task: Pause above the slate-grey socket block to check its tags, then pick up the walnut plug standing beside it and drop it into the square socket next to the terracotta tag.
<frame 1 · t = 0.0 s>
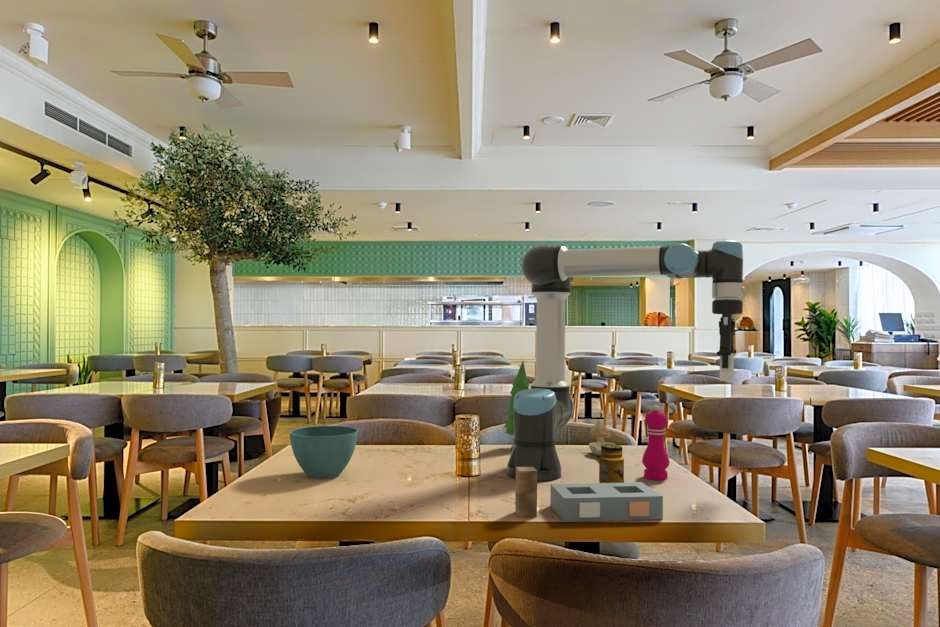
hand: (726, 379, 168), 28 cm above the table, fingers open, 13 cm apart
oil lamp: (602, 456, 203), on the table
condiment: (607, 494, 158), on the table
plug: (525, 514, 140), on the table
plant pot: (323, 476, 173), on the table
decorative tree: (518, 449, 213), on the table
socket block: (604, 512, 142), on the table
pepper mill: (655, 478, 175), on the table
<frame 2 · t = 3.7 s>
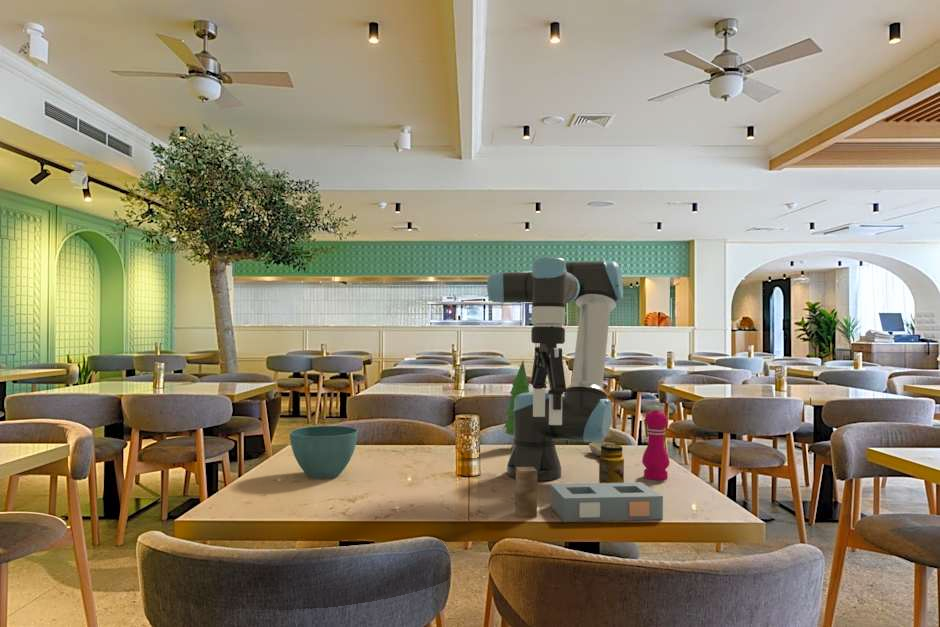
hand: (546, 420, 142), 20 cm above the table, fingers open, 13 cm apart
nothing on the table moved.
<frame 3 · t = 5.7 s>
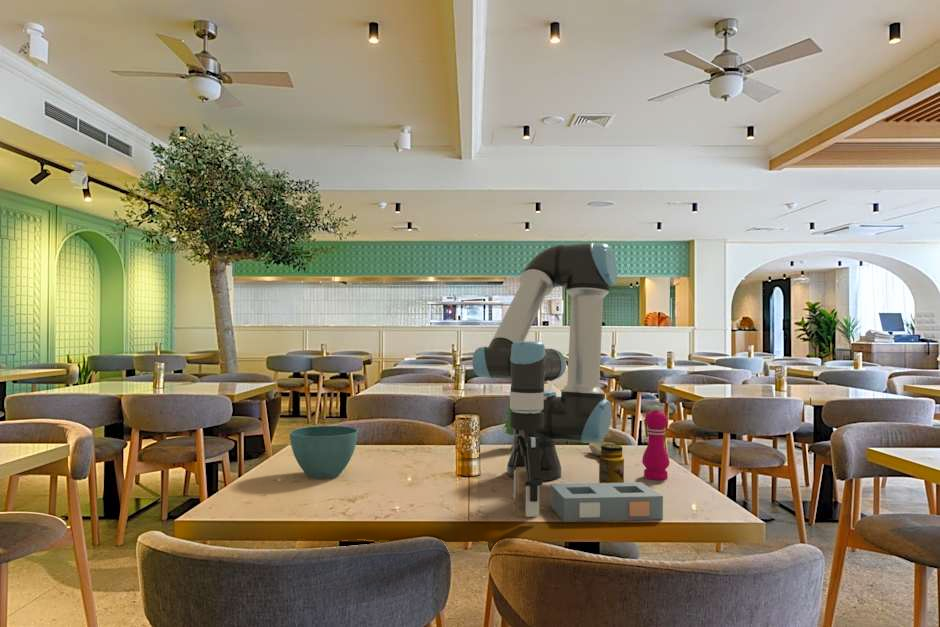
hand: (525, 507, 140), 2 cm above the table, fingers open, 13 cm apart
nothing on the table moved.
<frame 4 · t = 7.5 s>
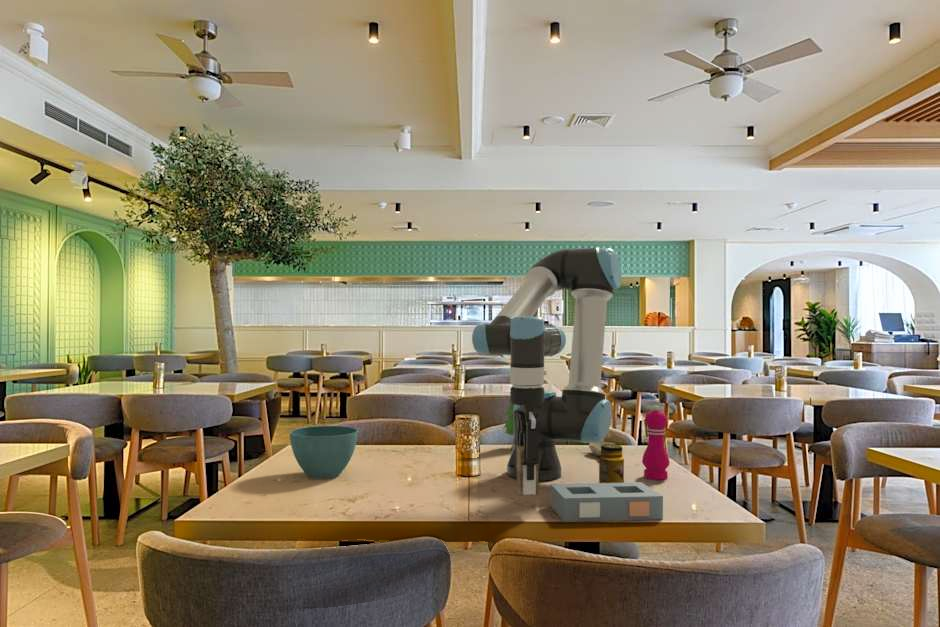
hand: (527, 490, 140), 5 cm above the table, fingers closed on plug, 4 cm apart
plug: (527, 492, 140), point 5 cm above the table, touching gripper
everything else where it was.
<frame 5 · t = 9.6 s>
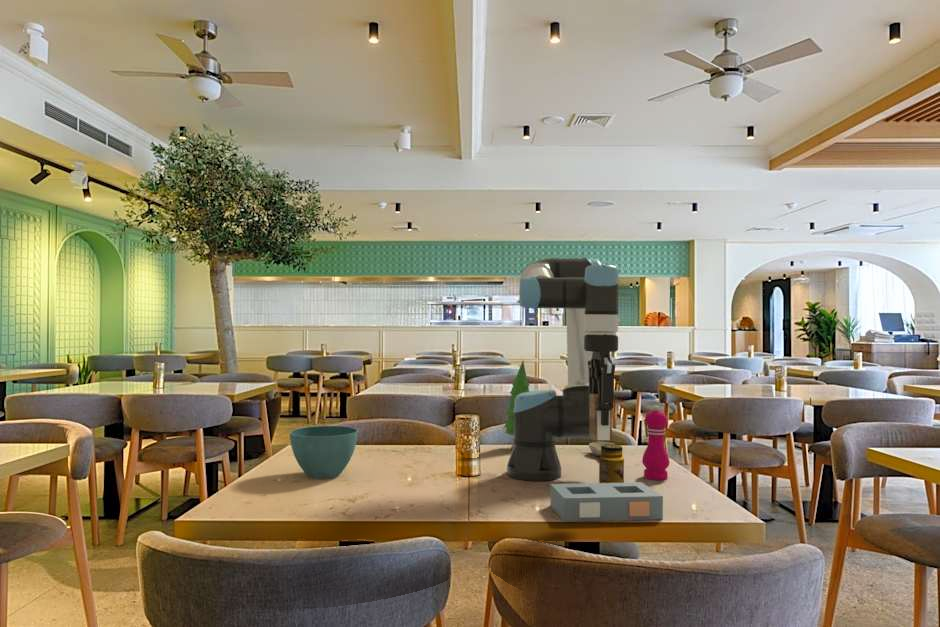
hand: (600, 437, 142), 17 cm above the table, fingers closed on plug, 4 cm apart
plug: (600, 439, 142), point 16 cm above the table, touching gripper
everything else where it was.
when the fingers open (7 cm above the table, at t = 12.2 s): plug drops 6 cm, resting in socket block.
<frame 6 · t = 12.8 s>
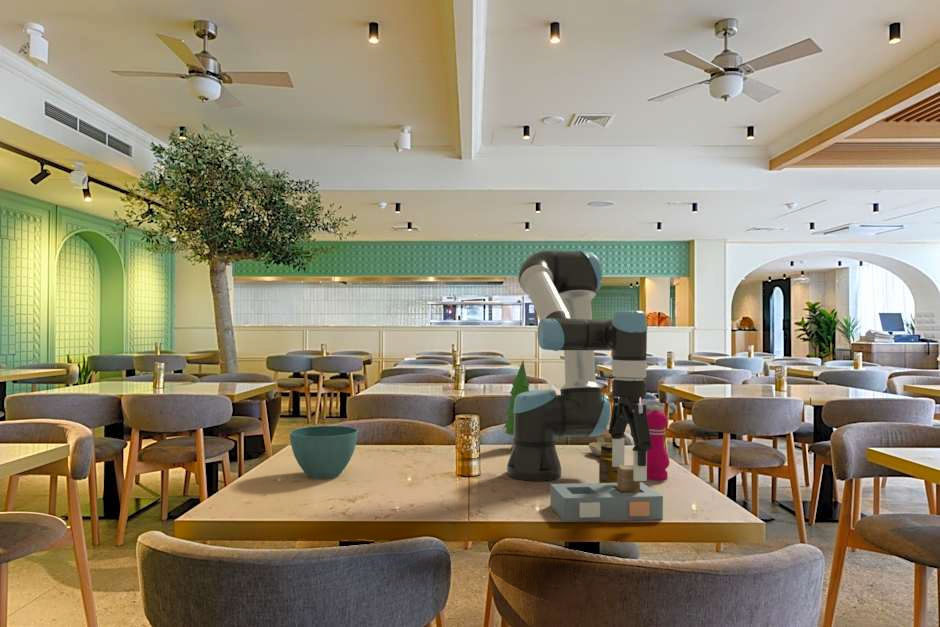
hand: (628, 473, 143), 9 cm above the table, fingers open, 13 cm apart
plug: (628, 511, 143), resting in socket block
everything else where it was.
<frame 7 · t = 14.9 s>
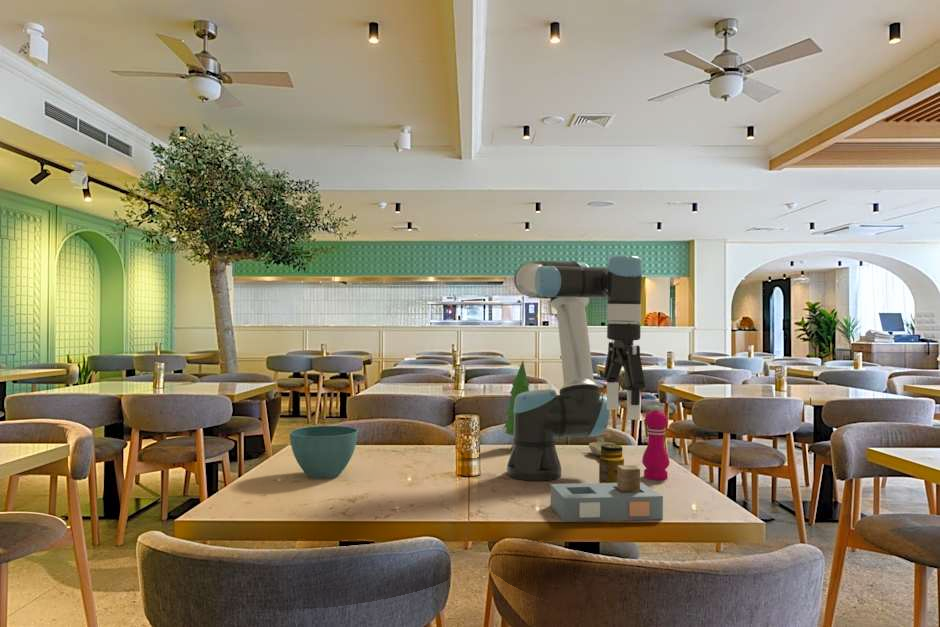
hand: (622, 414, 147), 21 cm above the table, fingers open, 13 cm apart
nothing on the table moved.
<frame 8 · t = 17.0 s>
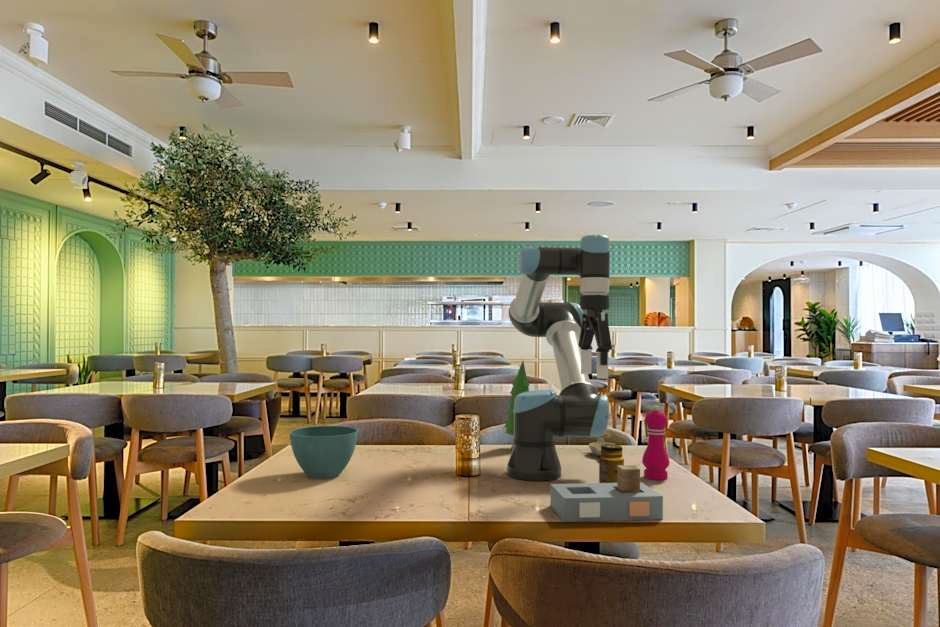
hand: (594, 376, 165), 29 cm above the table, fingers open, 13 cm apart
nothing on the table moved.
at the end: plug 0.1 cm from the target spot, resting in socket block; plug tilted 0°; the gripper is holding nothing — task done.
